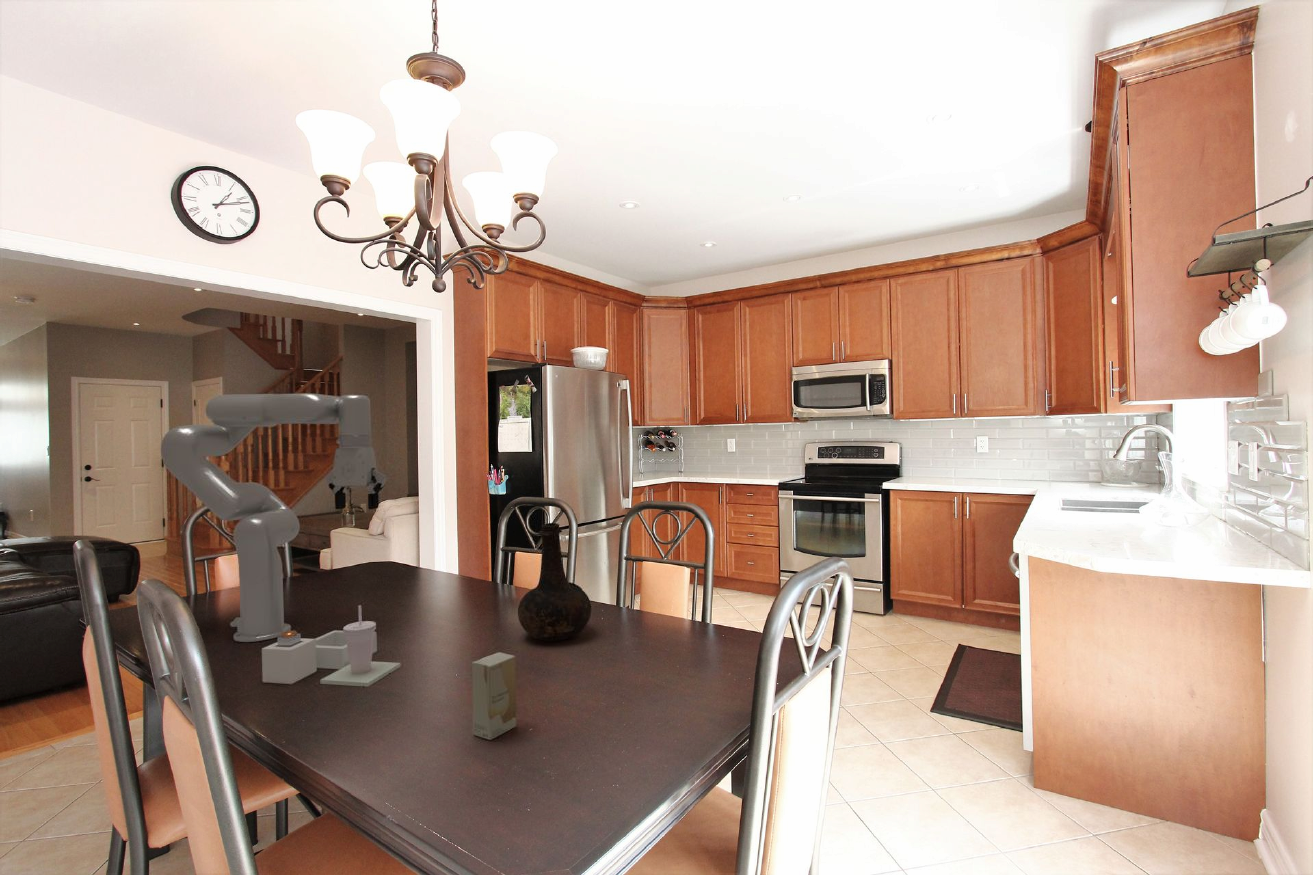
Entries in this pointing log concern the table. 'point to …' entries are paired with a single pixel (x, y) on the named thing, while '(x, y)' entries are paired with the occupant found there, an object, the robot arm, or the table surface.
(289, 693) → the table surface
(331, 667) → the holder
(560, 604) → the glass bottle
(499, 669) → the skincare box
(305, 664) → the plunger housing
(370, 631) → the smoothie
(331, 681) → the coaster
